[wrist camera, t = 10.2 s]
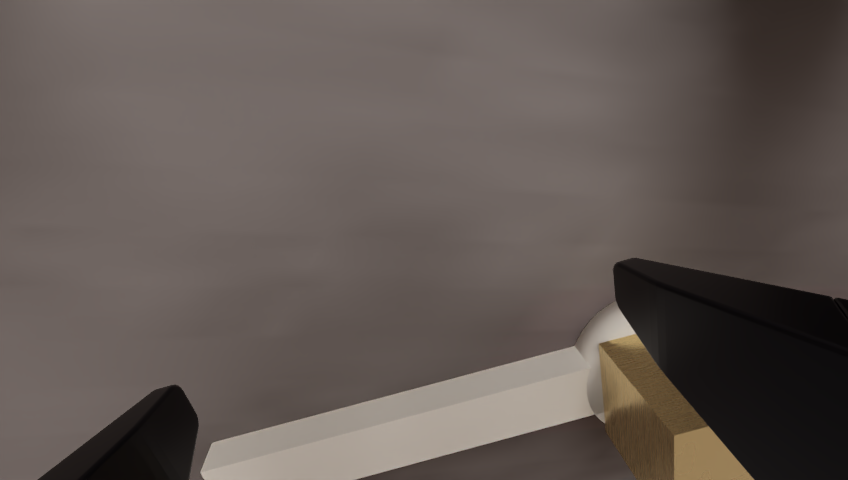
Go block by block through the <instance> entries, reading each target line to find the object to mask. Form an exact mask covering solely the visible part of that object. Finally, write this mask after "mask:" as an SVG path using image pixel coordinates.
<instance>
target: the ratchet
mask: <svg viewBox="0 0 848 480" xmlns="http://www.w3.org/2000/svg"><path fill="white" fill-rule="evenodd" d="M633 334H636V333H635V332H634V330H633V329H632V327H631V326H630V324H629V323H628V321H627V320H626V318H625V317H624V315H623V314H622V312H621V311H620V309H619V307H618V305H617V302H616V301H614V302H612V303H611V304H609V305H608V306H606V307H605V308H603V309H602V310H601V311H600V312H599V313H597V314H596V315H595V316H594V317H593V318H592V319H591V320H590V321H589V323H588V324H587V325H586V326H585V328H584V329H583V330H582V332H581V334H580V336H579V337H578V339H577V341H576V344H575V346H573V347H569V348H565V349H562V350H558V351H554V352H550V353H547V354H543V355H539V356H535V357H532V358H528V359H524V360H520V361H517V362H513V363H509V364H505V365H502V366H498V367H494V368H490V369H487V370H483V371H479V372H475V373H472V374H468V375H464V376H460V377H457V378H453V379H449V380H445V381H442V382H438V383H434V384H430V385H427V386H423V387H419V388H415V389H412V390H408V391H404V392H400V393H397V394H393V395H389V396H385V397H382V398H378V399H374V400H370V401H367V402H363V403H359V404H355V405H352V406H348V407H344V408H340V409H337V410H333V411H329V412H325V413H322V414H318V415H314V416H310V417H307V418H303V419H299V420H295V421H292V422H288V423H284V424H280V425H277V426H273V427H269V428H265V429H262V430H258V431H254V432H250V433H247V434H243V435H239V436H235V437H232V438H228V439H224V440H220V441H217V442H213V443H212V444H211V447H210V449H209V452H208V454H207V457H206V459H205V462H204V464H203V467H202V469H201V472H200V473H201V475H202V476H203V478H204V480H356V479H359V478H363V477H367V476H370V475H374V474H378V473H381V472H385V471H389V470H392V469H396V468H400V467H404V466H407V465H411V464H415V463H418V462H422V461H426V460H429V459H433V458H437V457H440V456H444V455H448V454H451V453H455V452H459V451H462V450H466V449H470V448H474V447H477V446H481V445H485V444H488V443H492V442H496V441H499V440H503V439H507V438H510V437H514V436H518V435H521V434H525V433H529V432H533V431H536V430H540V429H544V428H547V427H551V426H555V425H558V424H562V423H566V422H569V421H573V420H577V419H580V418H584V417H588V416H591V415H596V416H597V417H598V418H599V419H600V420H601V421H602V422H603V423H605V417H604V405H603V392H602V380H601V368H600V355H599V343H603V342H607V341H610V340H614V339H618V338H622V337H626V336H629V335H633Z"/></svg>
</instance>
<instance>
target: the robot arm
mask: <svg viewBox="0 0 848 480" xmlns="http://www.w3.org/2000/svg"><path fill="white" fill-rule="evenodd" d="M613 274H614V286H615V298H616V302H617V305H618V307H619V309H620V311H621V312H622V314H623V315H624V317H625V318H626V320H627V321H628V323H629V324H630V326H631V327H632V329H633V330H634V332H635V333H636V335H637V336H638V338H639V339H640V341H641V342H642V343H643V345H644V346H645V348H646V349H647V351H648V352H649V354H650V355H651V357H652V358H653V360H654V361H655V362H656V364H657V365H658V367H659V368H660V369H661V370H662V372H663V373H664V374H665V375H666V377H667V378H668V379H669V380H670V381H671V383H672V384H673V385H674V386H675V387H676V388H677V390H678V391H679V392H680V393H681V394H682V395H683V397H684V398H685V399H686V400H687V401H688V403H689V404H690V405H691V406H692V407H693V408H694V410H695V411H696V412H697V413H698V414H699V416H700V417H701V418H702V419H703V420H704V421H705V423H706V424H707V425H708V426H709V427H710V428H711V430H712V431H713V432H714V433H715V434H716V436H717V437H718V438H719V439H720V440H721V441H722V443H723V444H724V445H725V446H726V447H727V448H728V450H729V451H730V452H731V453H732V454H733V456H734V457H735V458H736V459H737V460H738V461H739V463H740V464H741V465H742V466H743V467H744V468H745V470H746V471H747V472H748V473H749V474H750V476H751V477H752V478H753V479H754V480H848V300H846V299H841V298H835V299H834V300H833V298H832V297H830V296H825V295H820V294H815V293H810V292H805V291H800V290H795V289H790V288H785V287H780V286H775V285H770V284H765V283H760V282H755V281H750V280H745V279H740V278H735V277H730V276H725V275H720V274H715V273H709V272H704V271H699V270H694V269H689V268H684V267H679V266H674V265H669V264H664V263H659V262H654V261H649V260H644V259H639V258H631V259H627V260H623V261H620V262H617V263H616V264H615V265H614V268H613ZM198 426H199V424H198V417H197V414H196V412H195V411H194V409H193V407H192V405H191V404H190V402H189V400H188V398H187V397H186V395H185V393H184V391H183V390H182V389H181V387H179V386H177V385H170V386H167V387H163V388H160V389H156V390H154V391H153V392H151V393H150V394H149V395H147V396H146V397H145V398H143V399H142V400H141V401H140V402H138V403H137V404H136V405H134V406H133V407H132V408H130V409H129V410H128V411H127V412H125V413H124V414H123V415H121V416H120V417H119V418H117V419H116V420H115V421H113V422H112V423H111V424H110V425H108V426H107V427H106V428H104V429H103V430H102V431H100V432H99V433H98V434H97V435H95V436H94V437H93V438H91V439H90V440H89V441H87V442H86V443H85V444H83V445H82V446H81V447H80V448H78V449H77V450H76V451H74V452H73V453H72V454H70V455H69V456H68V457H67V458H65V459H64V460H63V461H61V462H60V463H59V464H57V465H56V466H55V467H53V468H52V469H51V470H50V471H48V472H47V473H46V474H44V475H43V476H42V477H40V478H39V479H38V480H189V478H190V472H191V467H192V461H193V455H194V450H195V444H196V438H197V433H198Z"/></svg>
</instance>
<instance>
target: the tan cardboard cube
mask: <svg viewBox="0 0 848 480" xmlns="http://www.w3.org/2000/svg"><path fill="white" fill-rule="evenodd" d="M599 355H600V368H601V380H602V392H603V405H604V417H605V429H606V433H607V434H608V436H609V437H610V439H611V440H612V442H613V444H614V445H615V447H616V448H617V450H618V451H619V453H620V454H621V456H622V457H623V459H624V461H625V462H626V464H627V465H628V467H629V468H630V470H631V471H632V473H633V474H634V476H635V478H636V479H637V480H754V479H753V478H752V477H751V476H750V474H749V473H748V472H747V471H746V470H745V468H744V467H743V466H742V465H741V464H740V463H739V461H738V460H737V459H736V458H735V457H734V456H733V454H732V453H731V452H730V451H729V450H728V448H727V447H726V446H725V445H724V444H723V443H722V441H721V440H720V439H719V438H718V437H717V436H716V434H715V433H714V432H713V431H712V430H711V428H710V427H709V426H708V425H707V424H706V423H705V421H704V420H703V419H702V418H701V417H700V416H699V414H698V413H697V412H696V411H695V410H694V408H693V407H692V406H691V405H690V404H689V403H688V401H687V400H686V399H685V398H684V397H683V395H682V394H681V393H680V392H679V391H678V390H677V388H676V387H675V386H674V385H673V384H672V383H671V381H670V380H669V379H668V378H667V377H666V375H665V374H664V373H663V372H662V370H661V369H660V368H659V367H658V365H657V364H656V362H655V361H654V360H653V358H652V357H651V355H650V354H649V352H648V351H647V349H646V348H645V346H644V345H643V343H642V342H641V341H640V339H639V338H638V336H637V335H636V334H633V335H629V336H626V337H622V338H618V339H614V340H610V341H607V342H603V343H599Z"/></svg>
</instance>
